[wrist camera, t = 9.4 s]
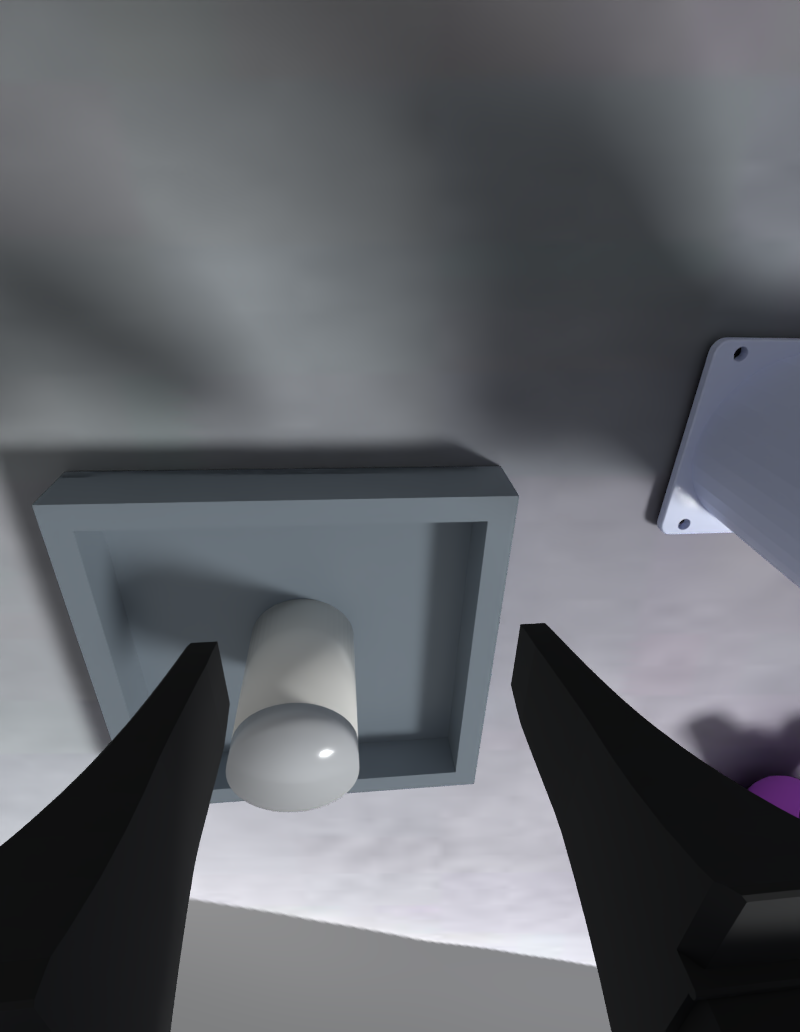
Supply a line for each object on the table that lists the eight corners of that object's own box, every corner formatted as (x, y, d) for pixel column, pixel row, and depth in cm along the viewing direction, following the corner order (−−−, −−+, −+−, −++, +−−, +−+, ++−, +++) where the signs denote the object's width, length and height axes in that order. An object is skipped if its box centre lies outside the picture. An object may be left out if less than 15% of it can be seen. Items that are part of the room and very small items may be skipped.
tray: (500, 466, 21) (519, 495, 19) (463, 740, 29) (473, 783, 27) (64, 471, 20) (31, 505, 18) (150, 761, 28) (134, 808, 26)
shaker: (353, 597, 23) (358, 723, 18) (354, 672, 25) (359, 807, 20) (246, 601, 23) (217, 732, 17) (256, 677, 25) (233, 816, 19)
